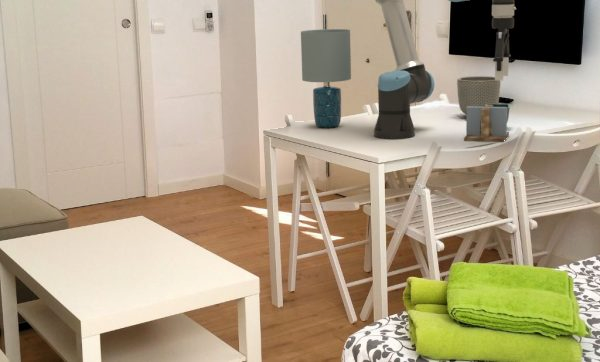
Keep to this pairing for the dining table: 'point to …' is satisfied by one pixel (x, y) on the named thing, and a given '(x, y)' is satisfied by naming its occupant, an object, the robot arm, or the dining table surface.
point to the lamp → (326, 70)
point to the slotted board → (496, 117)
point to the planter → (477, 91)
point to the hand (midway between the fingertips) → (501, 78)
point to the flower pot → (502, 106)
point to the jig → (486, 129)
